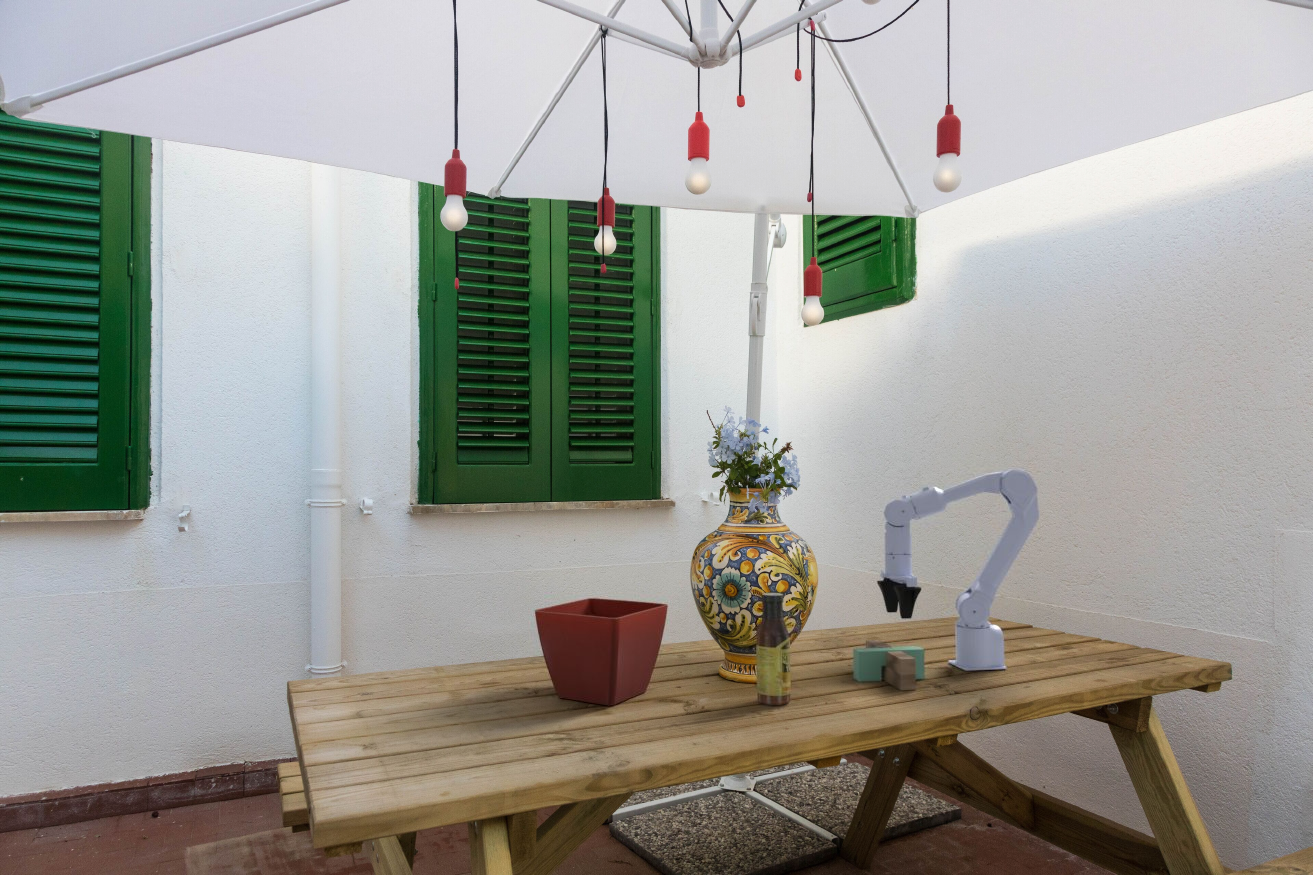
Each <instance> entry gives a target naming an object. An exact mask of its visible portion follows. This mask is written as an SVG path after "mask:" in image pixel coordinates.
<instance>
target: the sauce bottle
mask: <svg viewBox="0 0 1313 875" xmlns="http://www.w3.org/2000/svg"><path fill="white" fill-rule="evenodd" d="M783 603H784V594H783V593H779V592H765V593H762V594H761V604H762V614H761V615H762V619H761V621H760V623H759V624H758V627H757V629H756V645H755V652H756V653H755V655H756V656H755V657H756V692H757V696H756V698H757V701H758V702H759V703H761V704H763V705H767V706H781V705H787V704H788V703H790V702H791V701H790V700H791V692H792V690H791V689H792V688H791V636H790V633H789V630H788V628H787V625H786V623H785V618H784V614H783V612H784V611H783V608H784V607H783Z"/></svg>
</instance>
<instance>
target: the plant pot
mask: <svg viewBox="0 0 1313 875" xmlns="http://www.w3.org/2000/svg"><path fill="white" fill-rule="evenodd" d="M668 607H669V606H668V604H667V603H660V602H659V603H658V602H648V601H647V602H646V601H635V600H626V599H609V598H598V597H595V598H594V597H592V598H591V597H589V598H588V597H587V598H584V599H580V600H573V601H570V602H566V603H561V604H556V605H553V606H547V607H543V608H539V609H538V608H537V609H534V614H535V616H534V617H535V622H536V628H537V633H538V639H539V643H540V648H541V651H542V655H543V657H544V658H543V659H544V661H545V665H546V668H547V671H548V674H549V677H550V679H551V680H550V681H552V682H551V683H552V685H553V687H554V690H555V693H556V695H557V697H558V698H562V699H567V700H573V701H579V702H586V703H592V704H598V705H604V706H615V705H617V704H619V703H622V702H624V701H626V700H629V699H631V698H634V697H636V696H639V695H641V694H644V693H646V692H647V689H648V687H649V684H650V681H651V678H652V676H653V673H654V671H655V666H656V662H657V661H658V660H657V659H658V656H659V653H660V648H661V644H662V642H663V636H664V630H665V627H666V622H667V613H668Z"/></svg>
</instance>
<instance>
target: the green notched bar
mask: <svg viewBox="0 0 1313 875" xmlns="http://www.w3.org/2000/svg"><path fill="white" fill-rule="evenodd" d="M890 651H902V652H903V653H905V654H907V655H909V656H911V657H913V658H915V670H916V680H925V678H926V674H925V672H926V670H925V664H926V663H925V649H924V648H923V647H920V646H918V645H916V646H915V645H913V646H912V645H911V646H892V647H882V648H866V647H862V648H861V647H860V648H859V647H858V648H857V647H856V648H853V649H852V658H853V659H852V660H853V666H852V667H853V679H854V680H856V681H857V682H861V683H862V682H882V680H883V679H882V678H881V666H887V652H890Z"/></svg>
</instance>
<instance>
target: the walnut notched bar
mask: <svg viewBox="0 0 1313 875" xmlns="http://www.w3.org/2000/svg"><path fill="white" fill-rule="evenodd" d="M882 647H893V646H891V645H889V644H888V643H886V642H883V641H882V640H880V639H868V640H865V648H882ZM881 680H884V681H886V682H887V683H888V684H890V685H892V686H893V687H895V688H897V689H898V690H900V691H914V690H915V689H916V690H917V686H916V685H917V683H916V682H917V681H916V680H917V679H916V670H915V658H913V657H911V656H909V655H907V654H905V653H903V652H902V651H890V652H887V666H881ZM916 690H915V691H916Z"/></svg>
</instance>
